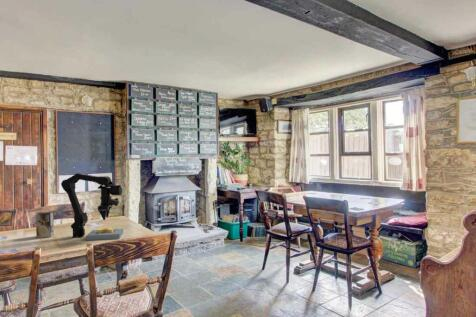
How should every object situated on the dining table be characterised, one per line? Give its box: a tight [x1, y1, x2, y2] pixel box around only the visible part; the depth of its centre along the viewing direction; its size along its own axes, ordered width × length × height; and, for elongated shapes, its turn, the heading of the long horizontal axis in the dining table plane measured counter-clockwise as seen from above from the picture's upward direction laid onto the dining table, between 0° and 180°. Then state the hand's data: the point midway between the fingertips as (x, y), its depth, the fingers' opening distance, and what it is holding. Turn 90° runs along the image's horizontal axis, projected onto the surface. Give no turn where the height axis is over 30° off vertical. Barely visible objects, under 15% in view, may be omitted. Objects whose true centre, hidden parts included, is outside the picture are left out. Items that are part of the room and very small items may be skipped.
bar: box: [97, 227, 115, 234], centre depth 214 cm, size 9×4×4 cm, turn 96°
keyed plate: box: [86, 228, 124, 241], centre depth 214 cm, size 20×16×3 cm
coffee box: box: [35, 211, 55, 239], centre depth 215 cm, size 9×6×16 cm
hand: (105, 218), depth 214 cm, fingers open, 9 cm apart
